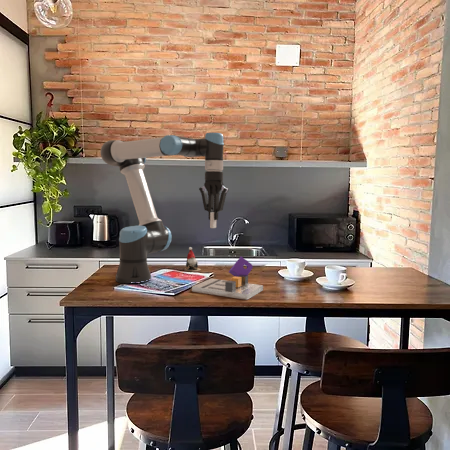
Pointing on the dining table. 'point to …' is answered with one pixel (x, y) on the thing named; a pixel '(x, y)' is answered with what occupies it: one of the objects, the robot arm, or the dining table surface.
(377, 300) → the dining table surface
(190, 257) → the figurine
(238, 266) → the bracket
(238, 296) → the panel
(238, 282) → the handle
